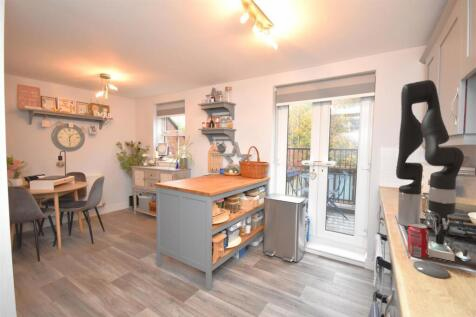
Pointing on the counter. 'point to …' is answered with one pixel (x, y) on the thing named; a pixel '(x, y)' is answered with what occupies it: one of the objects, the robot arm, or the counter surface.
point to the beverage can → (418, 240)
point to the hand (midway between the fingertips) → (439, 243)
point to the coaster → (431, 269)
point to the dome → (438, 247)
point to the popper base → (441, 253)
